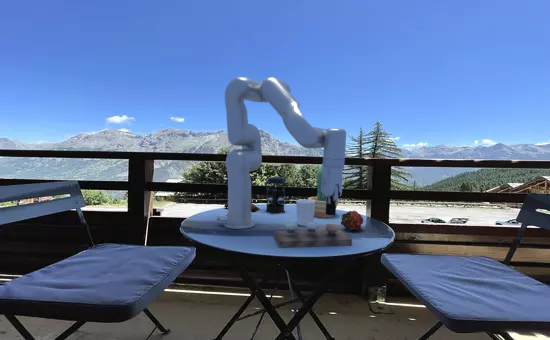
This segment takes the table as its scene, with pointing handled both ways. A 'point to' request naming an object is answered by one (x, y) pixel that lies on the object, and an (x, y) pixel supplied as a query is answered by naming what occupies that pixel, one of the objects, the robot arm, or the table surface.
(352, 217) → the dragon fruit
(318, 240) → the button panel
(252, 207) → the sunglasses case
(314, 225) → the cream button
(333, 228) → the terracotta button
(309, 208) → the white cup
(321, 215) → the potted cactus
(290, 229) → the sage button
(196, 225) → the table surface
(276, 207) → the french press
